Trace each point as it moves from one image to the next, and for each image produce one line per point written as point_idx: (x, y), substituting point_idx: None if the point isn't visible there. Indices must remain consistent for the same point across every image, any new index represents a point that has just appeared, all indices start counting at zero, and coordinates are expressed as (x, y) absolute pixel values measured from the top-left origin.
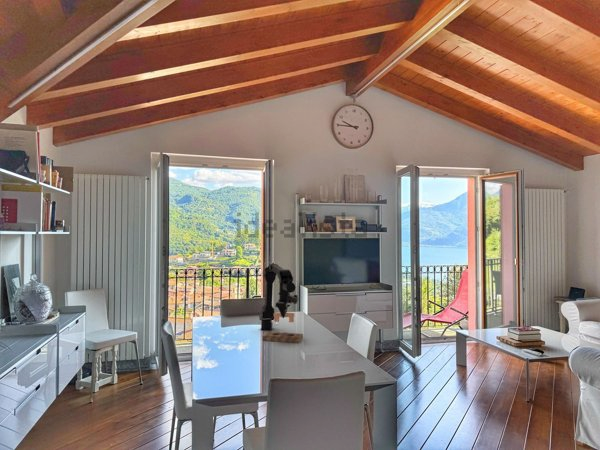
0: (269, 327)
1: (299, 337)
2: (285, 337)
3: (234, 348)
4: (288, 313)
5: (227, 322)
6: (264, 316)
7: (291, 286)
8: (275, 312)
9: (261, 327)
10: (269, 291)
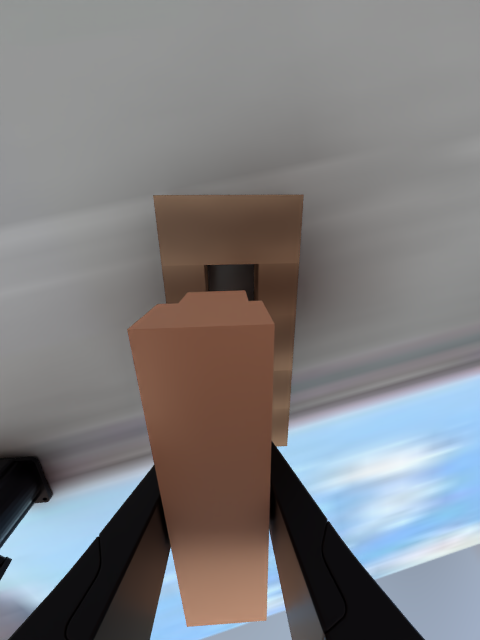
0: (10, 477)
1: (298, 198)
2: (294, 312)
3: (421, 476)
4: (234, 446)
5: None
6: None
7: None
8: (188, 620)
9: (28, 510)
10: None
